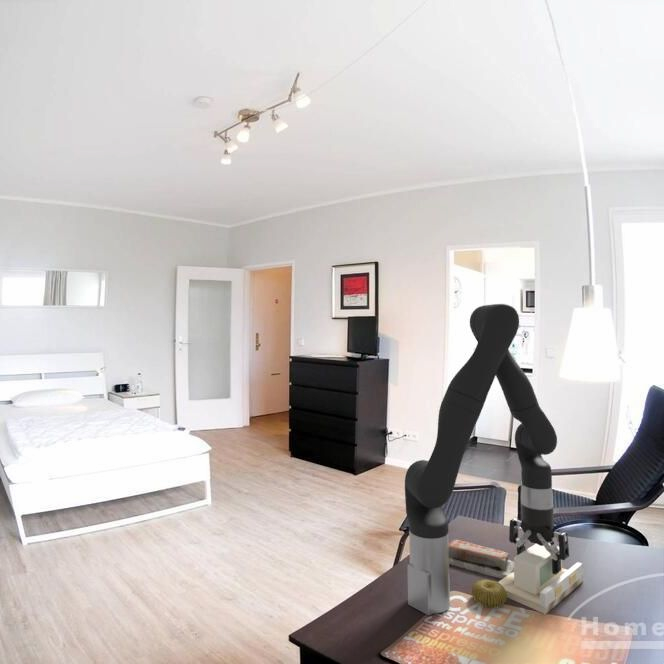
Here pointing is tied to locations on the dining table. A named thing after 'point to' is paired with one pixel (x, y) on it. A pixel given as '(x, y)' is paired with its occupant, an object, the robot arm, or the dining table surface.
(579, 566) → the rail
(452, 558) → the packaged product
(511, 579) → the shelf board
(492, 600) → the sculpture
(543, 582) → the carton
